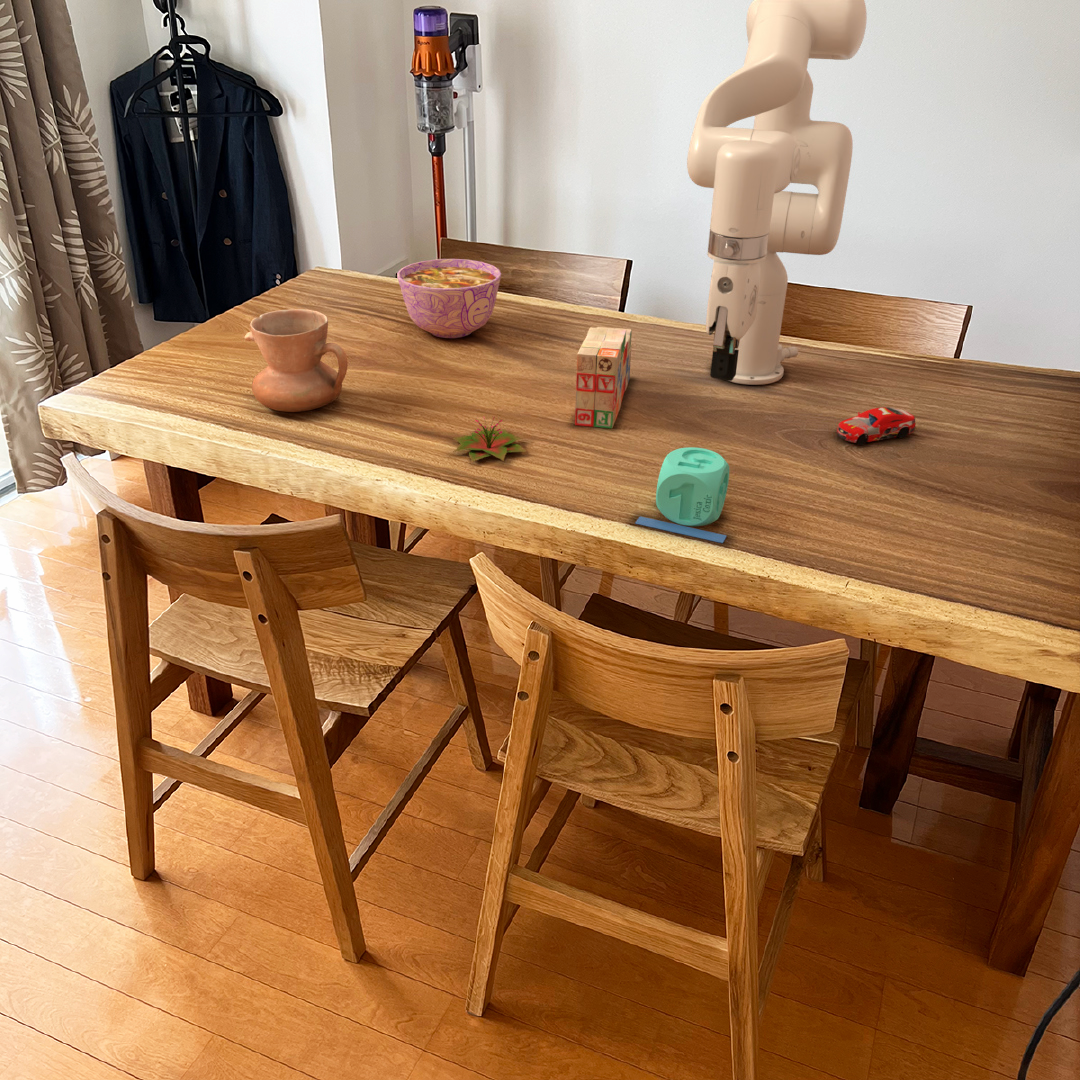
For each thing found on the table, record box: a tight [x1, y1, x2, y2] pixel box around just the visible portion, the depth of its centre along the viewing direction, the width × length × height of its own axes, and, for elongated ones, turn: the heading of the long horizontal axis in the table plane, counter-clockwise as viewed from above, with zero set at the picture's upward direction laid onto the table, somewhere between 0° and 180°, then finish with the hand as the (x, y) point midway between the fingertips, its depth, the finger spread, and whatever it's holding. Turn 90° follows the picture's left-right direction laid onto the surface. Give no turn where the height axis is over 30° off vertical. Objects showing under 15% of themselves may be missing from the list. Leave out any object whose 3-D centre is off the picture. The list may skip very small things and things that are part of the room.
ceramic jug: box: [244, 308, 349, 413], centre depth 160 cm, size 18×14×14 cm
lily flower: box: [451, 415, 528, 463], centre depth 149 cm, size 12×12×5 cm
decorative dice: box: [655, 446, 730, 527], centre depth 132 cm, size 8×8×8 cm
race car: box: [836, 406, 916, 446], centre depth 154 cm, size 13×5×4 cm, turn 110°
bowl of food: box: [396, 258, 502, 339], centre depth 191 cm, size 20×20×12 cm
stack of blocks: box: [574, 326, 633, 429], centre depth 162 cm, size 21×6×12 cm, turn 168°
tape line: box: [634, 516, 727, 544], centre depth 130 cm, size 12×2×1 cm, turn 66°
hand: (722, 376), depth 136 cm, fingers closed
